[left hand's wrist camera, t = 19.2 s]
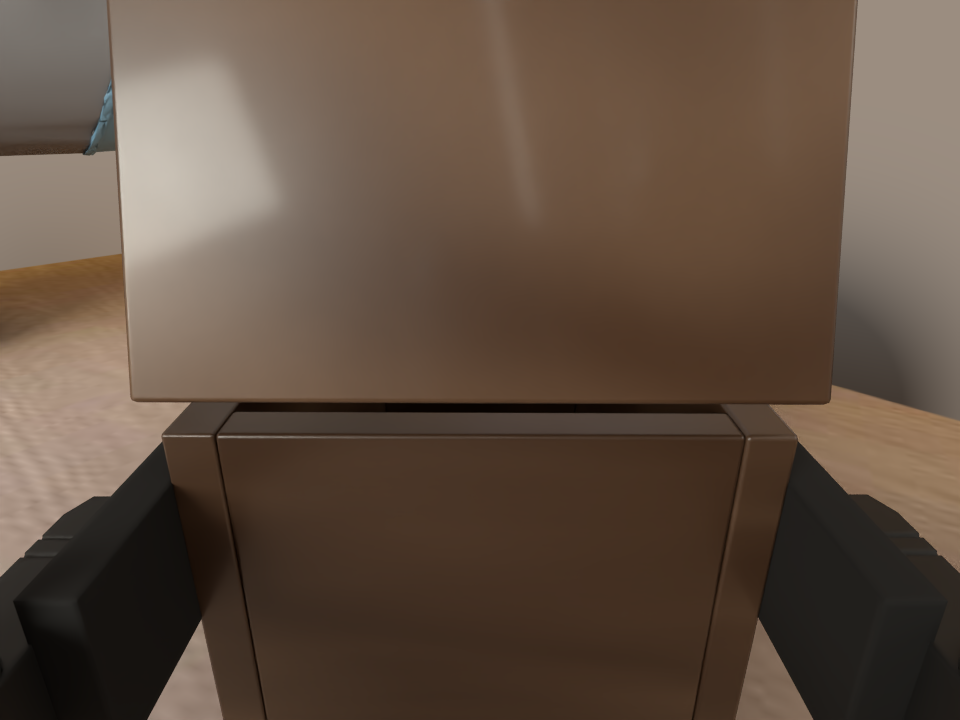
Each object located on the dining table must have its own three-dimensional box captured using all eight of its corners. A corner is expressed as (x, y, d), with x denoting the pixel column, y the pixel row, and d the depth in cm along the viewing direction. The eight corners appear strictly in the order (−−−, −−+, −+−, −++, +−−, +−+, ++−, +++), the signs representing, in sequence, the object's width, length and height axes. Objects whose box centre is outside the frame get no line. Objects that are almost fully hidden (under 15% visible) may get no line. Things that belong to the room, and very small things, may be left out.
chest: (371, 432, 28) (356, 225, 24) (589, 432, 28) (605, 225, 24) (244, 823, 13) (159, 434, 9) (713, 825, 13) (801, 437, 9)
